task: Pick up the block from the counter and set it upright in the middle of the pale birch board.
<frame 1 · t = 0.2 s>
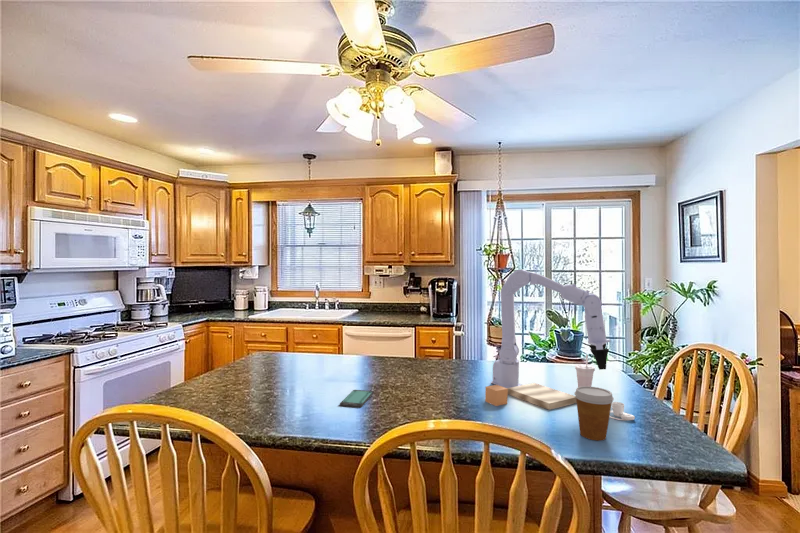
hand: (601, 366, 143), 10 cm above the kitchen island, tool pointing down, fingers open, 7 cm apart
disposable coffee cup: (592, 436, 110), on the kitchen island
smoothie: (584, 394, 146), on the kitchen island
block: (496, 402, 135), on the kitchen island
base board: (541, 398, 141), on the kitchen island
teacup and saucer: (615, 420, 123), on the kitchen island
smartphone: (357, 401, 136), on the kitchen island
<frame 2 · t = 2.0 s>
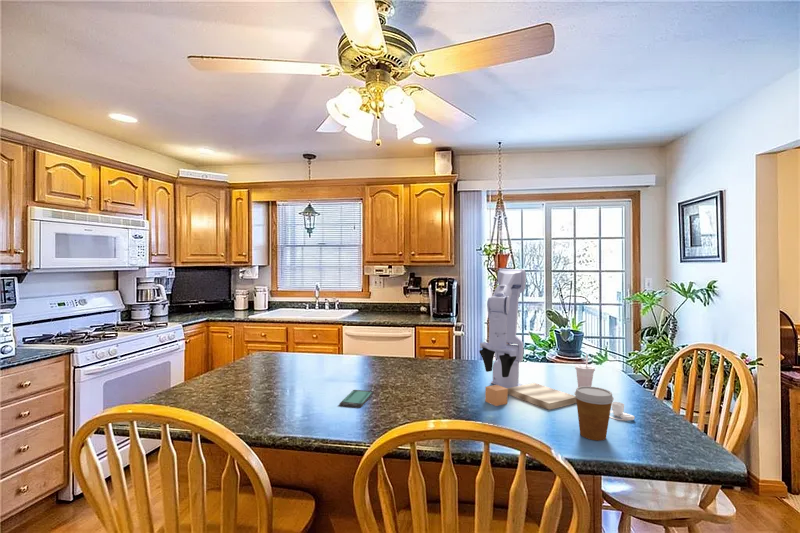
hand: (496, 374, 135), 9 cm above the kitchen island, tool pointing down, fingers open, 7 cm apart
nothing on the kitchen island moved.
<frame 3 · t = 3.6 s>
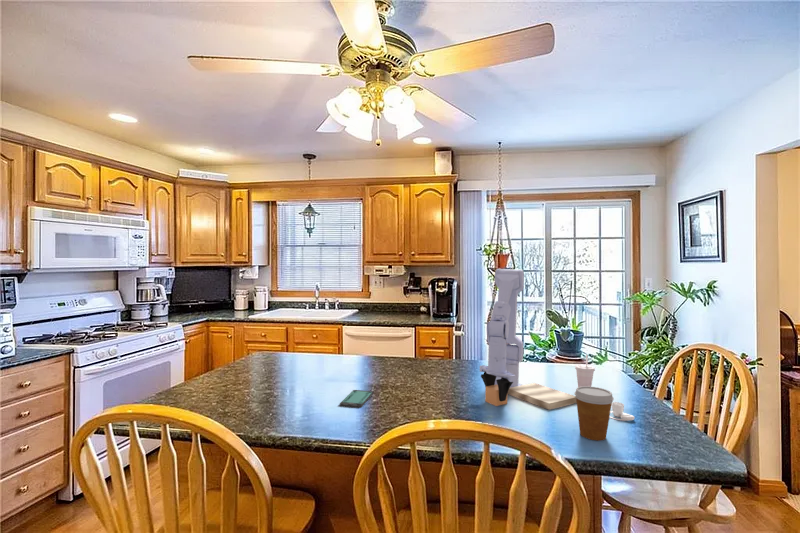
hand: (496, 398, 135), 1 cm above the kitchen island, tool pointing down, fingers closed on block, 5 cm apart
block: (496, 402, 135), on the kitchen island, touching gripper
everything else where it was.
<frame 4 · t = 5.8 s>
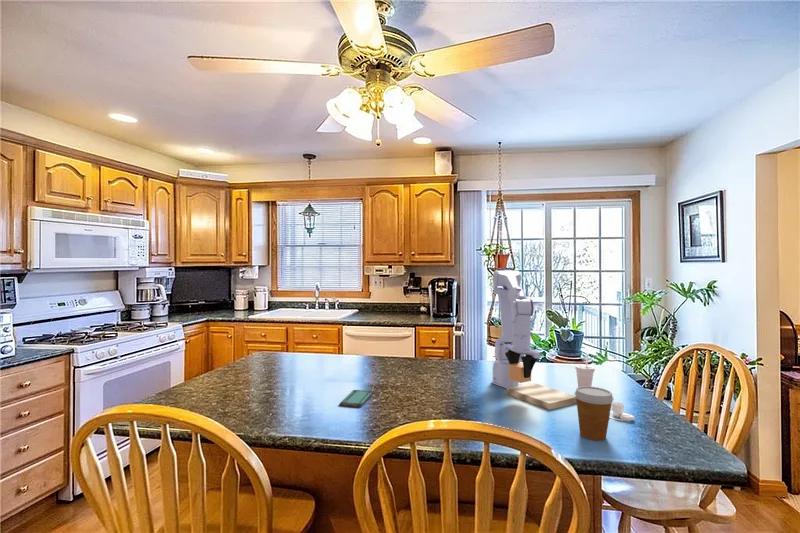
hand: (520, 375, 138), 8 cm above the kitchen island, tool pointing down, fingers closed on block, 5 cm apart
block: (520, 380, 138), point 7 cm above the kitchen island, touching gripper
everything else where it was.
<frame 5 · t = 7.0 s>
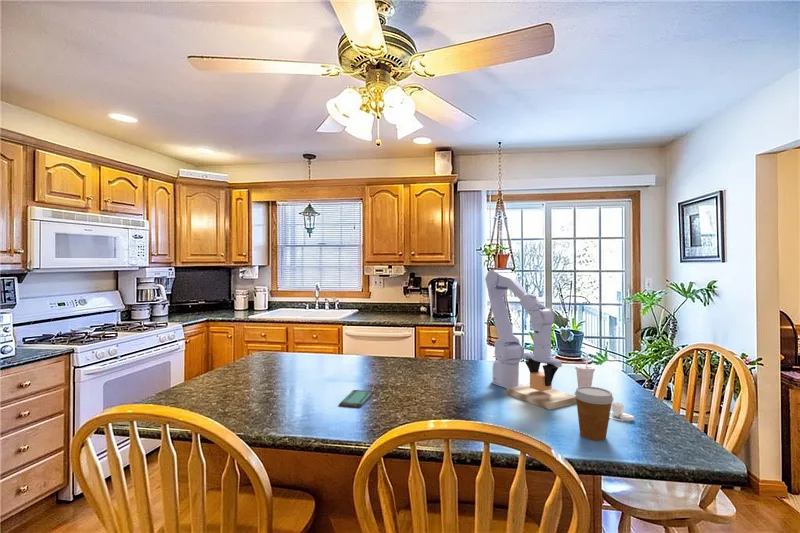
hand: (541, 383, 141), 5 cm above the kitchen island, tool pointing down, fingers closed on block, 5 cm apart
block: (540, 388, 140), point 3 cm above the kitchen island, touching gripper
everything else where it was.
when the fingers open (5 cm above the kitchen island, at t = 7.9 s): block drops 1 cm, resting on base board.
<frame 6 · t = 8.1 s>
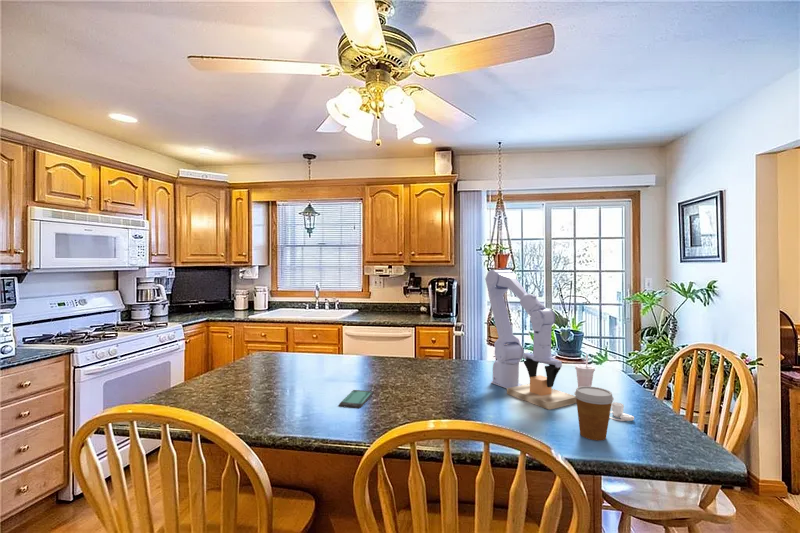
hand: (541, 383, 141), 5 cm above the kitchen island, tool pointing down, fingers open, 7 cm apart
block: (540, 392, 140), point 2 cm above the kitchen island, touching base board
everything else where it was.
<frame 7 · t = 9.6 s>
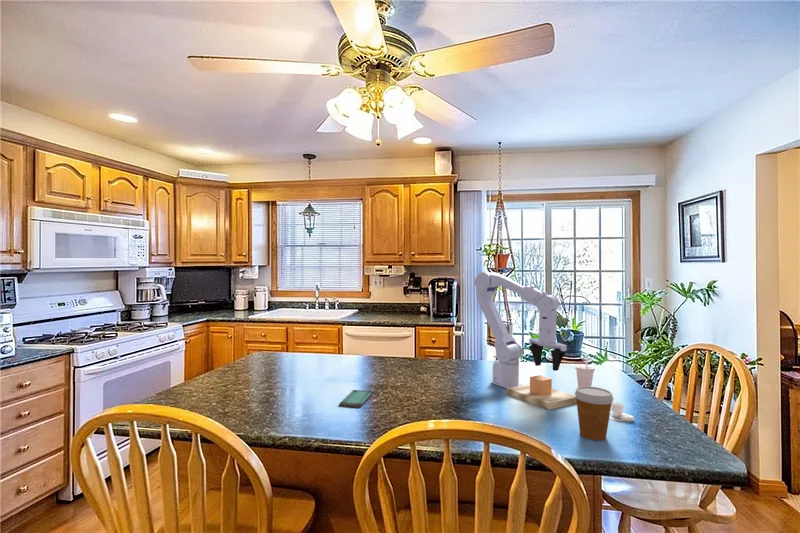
hand: (546, 367, 145), 9 cm above the kitchen island, tool pointing down, fingers open, 7 cm apart
nothing on the kitchen island moved.
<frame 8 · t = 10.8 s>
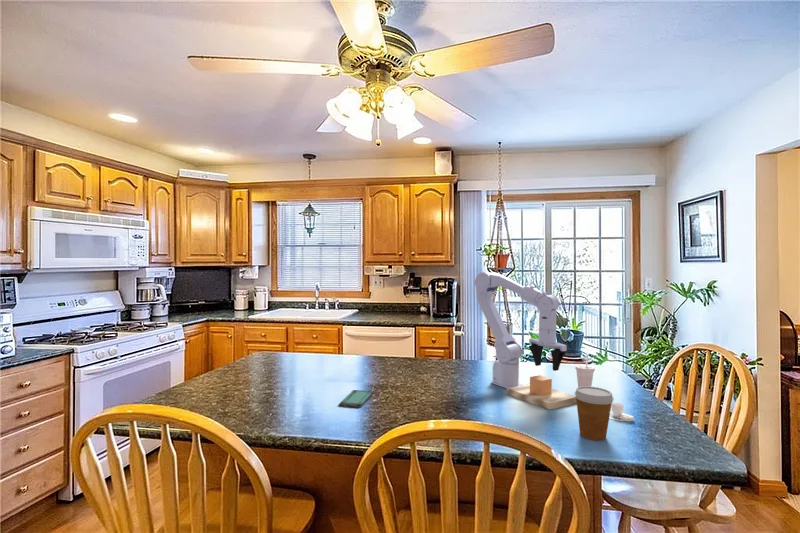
hand: (546, 367, 145), 9 cm above the kitchen island, tool pointing down, fingers open, 7 cm apart
nothing on the kitchen island moved.
at the end: block inside the target area on the base board (0.3 cm from its centre), point 2.0 cm above the base board's base; block tilted 0°; the gripper is holding nothing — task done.
